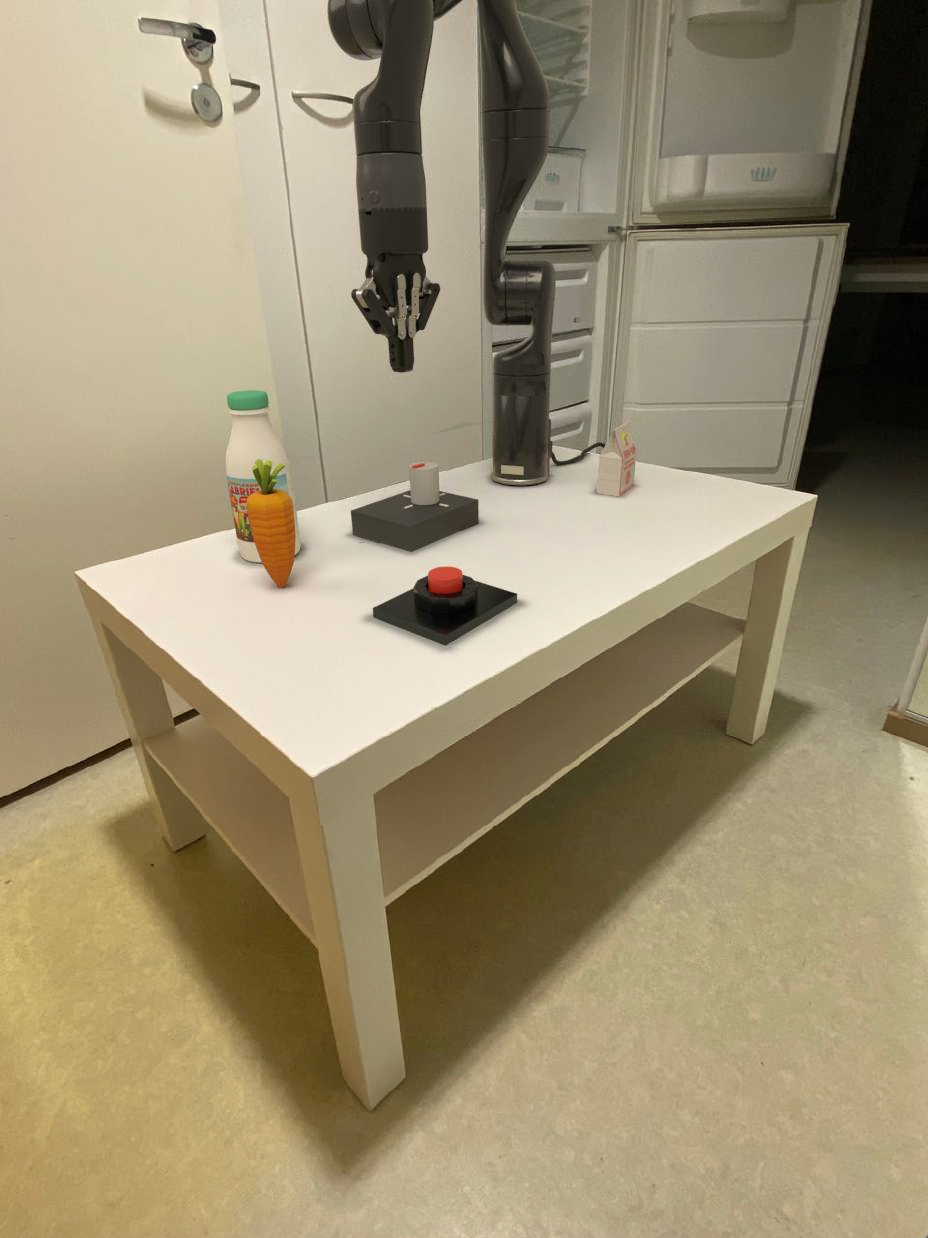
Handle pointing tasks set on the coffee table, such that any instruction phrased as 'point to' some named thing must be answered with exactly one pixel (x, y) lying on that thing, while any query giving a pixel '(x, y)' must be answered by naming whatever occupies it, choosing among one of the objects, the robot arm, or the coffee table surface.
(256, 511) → the carrot
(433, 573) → the power button
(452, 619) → the power switch
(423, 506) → the panel
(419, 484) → the timer knob
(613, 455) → the milk carton
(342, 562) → the coffee table surface
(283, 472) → the milk bottle
